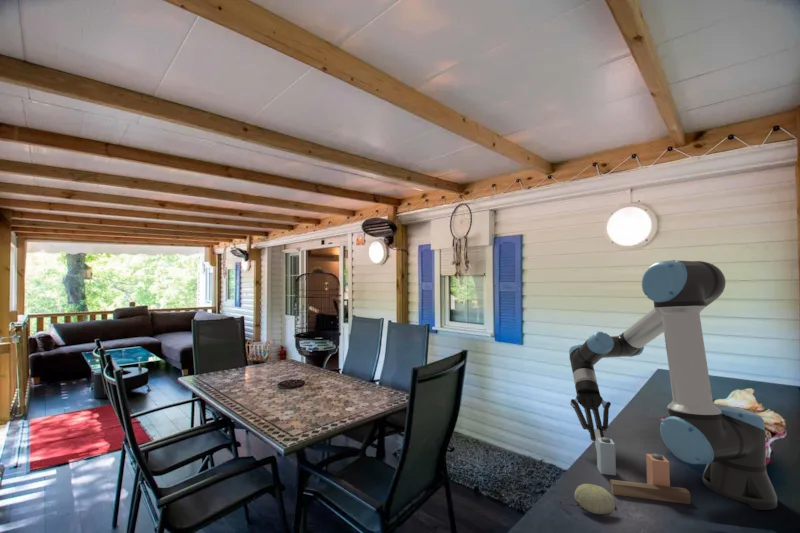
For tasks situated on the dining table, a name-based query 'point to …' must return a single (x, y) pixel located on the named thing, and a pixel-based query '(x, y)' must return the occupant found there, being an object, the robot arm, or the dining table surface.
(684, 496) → the maple board
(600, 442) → the grey socket block
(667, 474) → the terracotta plug
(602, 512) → the sea urchin shell
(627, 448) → the dining table surface
